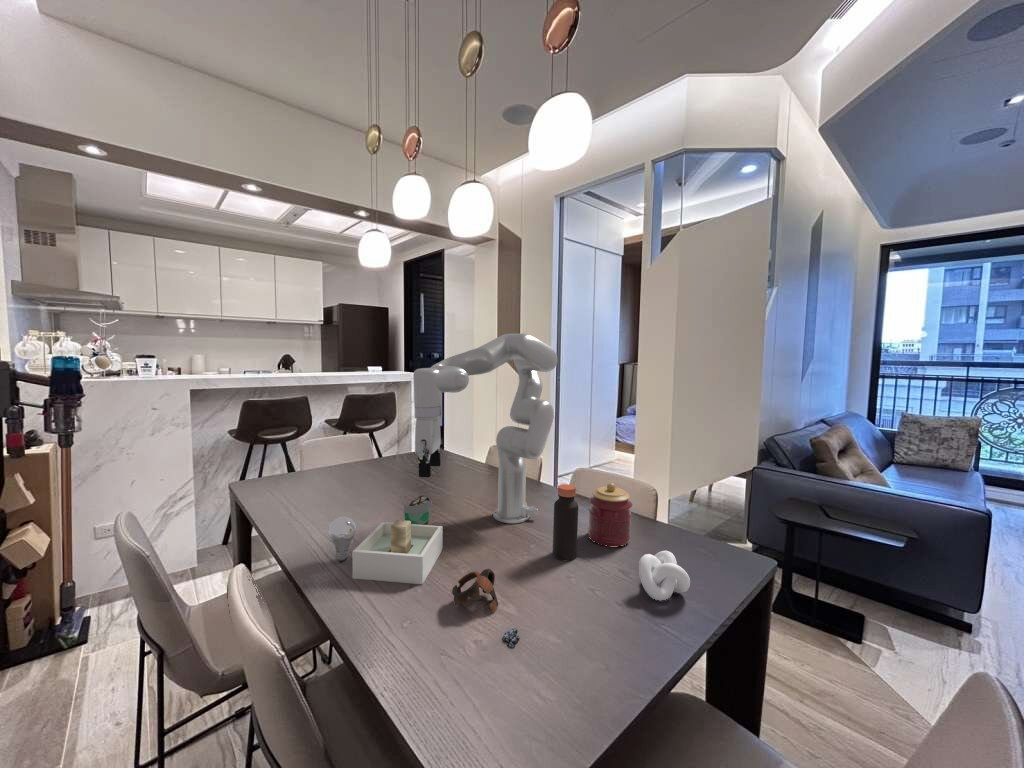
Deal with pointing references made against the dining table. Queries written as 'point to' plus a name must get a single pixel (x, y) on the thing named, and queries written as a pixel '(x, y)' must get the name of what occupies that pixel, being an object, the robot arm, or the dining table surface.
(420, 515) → the food container
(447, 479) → the dining table surface
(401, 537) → the maple peg
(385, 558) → the open box
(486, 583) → the brown looped sculpture
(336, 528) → the light bulb
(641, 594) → the dining table surface
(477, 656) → the dining table surface
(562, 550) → the bottle
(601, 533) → the canister
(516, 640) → the blueberries
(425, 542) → the bore plate
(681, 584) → the white knot sculpture
